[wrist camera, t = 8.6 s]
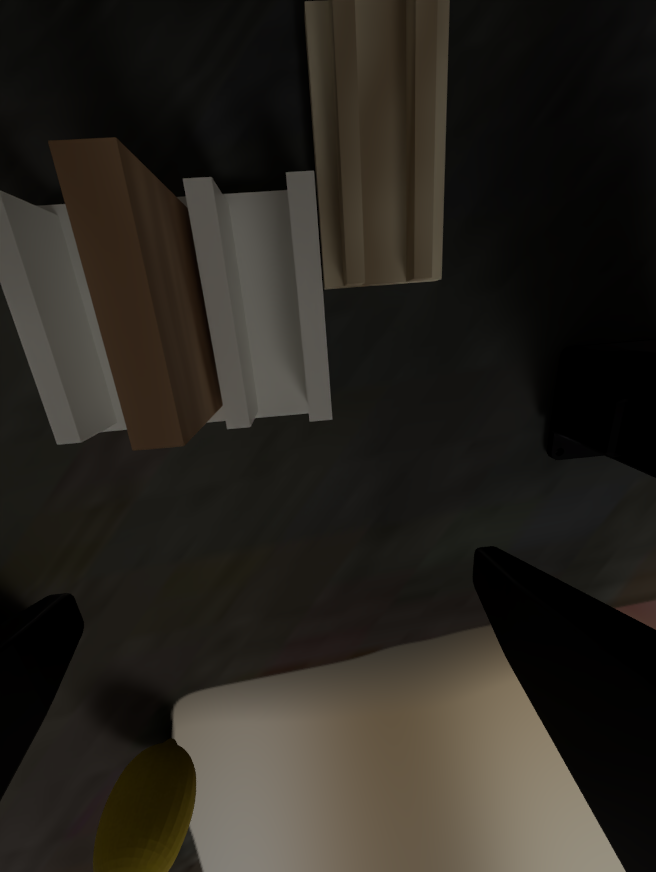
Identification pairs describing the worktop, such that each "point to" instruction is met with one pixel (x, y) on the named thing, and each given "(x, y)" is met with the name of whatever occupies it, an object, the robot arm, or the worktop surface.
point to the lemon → (147, 812)
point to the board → (141, 289)
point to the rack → (223, 294)
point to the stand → (379, 137)
